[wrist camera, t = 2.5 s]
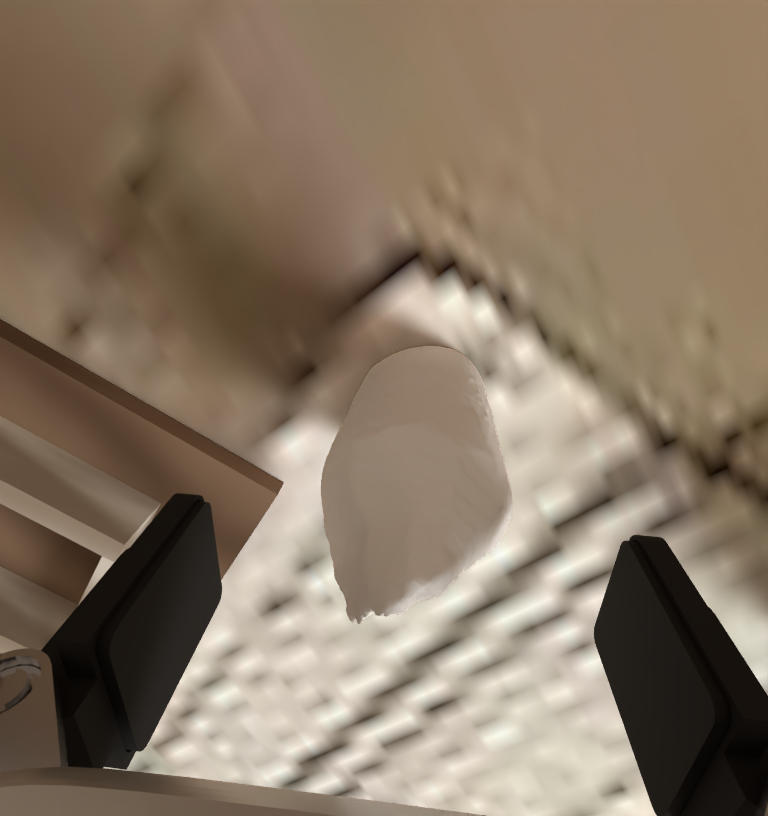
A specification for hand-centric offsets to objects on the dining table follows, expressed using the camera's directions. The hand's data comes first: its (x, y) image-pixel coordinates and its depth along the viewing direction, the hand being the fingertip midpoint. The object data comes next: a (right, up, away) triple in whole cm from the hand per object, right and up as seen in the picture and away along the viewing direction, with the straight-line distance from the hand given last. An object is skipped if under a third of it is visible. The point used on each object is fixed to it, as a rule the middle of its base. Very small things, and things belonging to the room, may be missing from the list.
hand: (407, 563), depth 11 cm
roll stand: (-18, -2, +14) cm, 23 cm away
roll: (+1, +4, +10) cm, 11 cm away
